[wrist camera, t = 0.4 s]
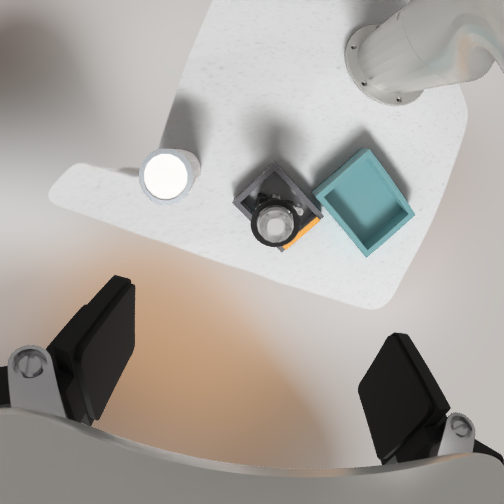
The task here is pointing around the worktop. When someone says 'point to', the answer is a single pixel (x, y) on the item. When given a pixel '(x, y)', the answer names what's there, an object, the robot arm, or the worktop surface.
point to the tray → (364, 201)
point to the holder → (273, 167)
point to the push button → (275, 220)
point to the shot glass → (169, 175)
